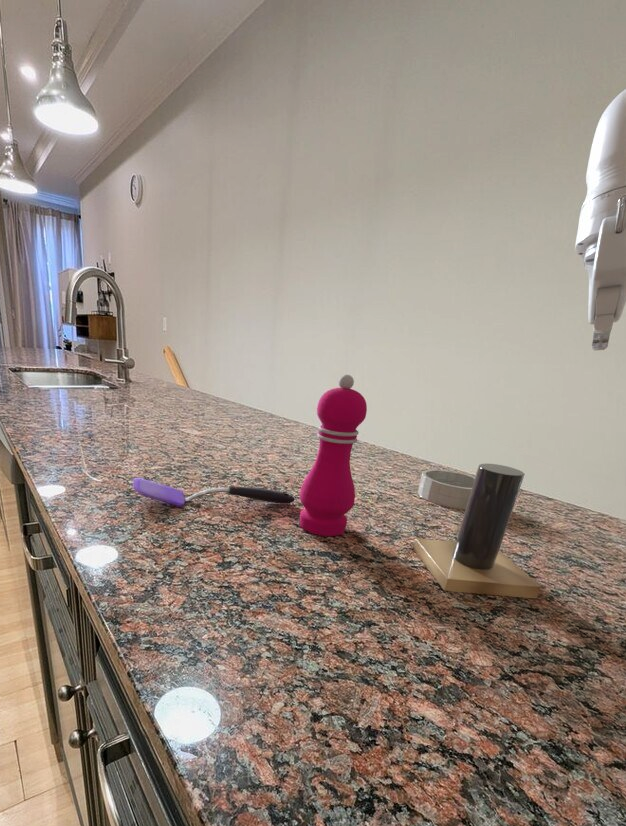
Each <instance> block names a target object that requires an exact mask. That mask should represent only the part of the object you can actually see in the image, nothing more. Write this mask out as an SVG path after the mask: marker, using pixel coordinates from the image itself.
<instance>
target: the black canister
mask: <svg viewBox="0 0 626 826" xmlns="http://www.w3.org/2000/svg"><path fill="white" fill-rule="evenodd" d="M525 476H526V475H525V472H524V471H522V470H520V469H517V468H514V467H511V466H508V465H503V464H498V463H497V464H495V463H480V464H479V465H478V467H477V470H476V473H475V476H474V477H475V480H474V483H473V486H472V490H471V493H470V496H469V500H468V503H467V507H466V509H464V514H463V517H462V519H461V520H462V521H461V524H460V527H459V531H458V534H457V537H456V540H455V542H456V544H455V547H454V551H453V554H452V555H453V558H454V559H455V560H456V561H458V562H459V563H461V564H463V565H466V566H468V567H472V568H476V569H491V568H493V567H494V564H495V561H496V558H497V555H498V552H499V550H500V549H501V546H502V542H503V540H504V537H505V534H506V531H507V528H508V526H509V523H510V520H511V517H512V513H513V510H514V508H515V505H516V502H517V499H518V496H519V492H520V490H521V486H522V484H523V481H524V478H525Z"/></svg>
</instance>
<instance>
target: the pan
mask: <svg viewBox="0 0 626 826" xmlns="http://www.w3.org/2000/svg"><path fill="white" fill-rule="evenodd" d="M474 480H475V476H474V475H470V474H467V473H463V472H458V471H454V470H453V471H452V470H446V469H426V470H424V471H422V472H421V476H420V479H419V483H418V487H417V494H418V496H419V497H421V498H422V499H424V500H425V501H428V502H430V503H433V504H436V505H438V506H442V507H447V508H452V509H458V510H466V507H467V503H468V500H469V496H470V493H471V490H472V486H473V483H474Z"/></svg>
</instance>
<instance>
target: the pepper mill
mask: <svg viewBox="0 0 626 826" xmlns="http://www.w3.org/2000/svg"><path fill="white" fill-rule="evenodd" d="M354 383H355V380H354V378H353V376H352V375H350V374H343V375H342V376H340V378H339V380H338V386H339V387H333V388H330V389H329V390H327V391H326V392H324V393H323V394H322V395H321V396H320V398H319V399H318V402H317V406H316V415H317V417H318V420H319V421H320V423H321V425H318V427H317V430H318V432H317V433H316V437H317V438H318V439H319V445H318V451H317V455H316V458H315V461H314V463H313V465H312V467H311V469H310V470H309V472H308V474H307V475H306V477H305V478H304V479H303V482H302V484H301V487H300V491H299V500H300V501H299V502H300V503H301V504H302V506H303V507H304V508H303V509H302V510H301V511H300V514H299V521H298V522H299V526H300V527H301V529H303V530H304V531H306V532H308V533H311V534H313V535H317V536H322V537H336V536H337V537H338V536H341V535H343V534H344V533H345V532H346V528H347V527H346V526H347V523H348V517H347V516H346V514H347V513H348V512H350V511H351V510H352V508H353V507H354V505H355V501H356V489H355V485H354V480H353V477H352V472H351V471H352V470H351V453H352V449H353V445H354V444H355V443H357V442H358V435H359V433H360V432H359V430H357V428H358V427H359V426H361V424H362V423H363V422H364V421H365V419H366V417H367V411H368V408H367V407H368V406H367V401H366V399H365V397H364V395H362V393H360V392H359V391H357V390H355V389H353V386H354Z"/></svg>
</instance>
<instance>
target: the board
mask: <svg viewBox="0 0 626 826" xmlns="http://www.w3.org/2000/svg"><path fill="white" fill-rule="evenodd" d="M455 544H456V541H453V540H440V539H429V538H415V539H414V544H413V547H412V549H413V551H414V552H415V554H416V555H417V556H418V558H419V559H420V560H421V562H422V563H423V564H424V566H425V567H426V568H427V570H428V571H429V572H430V573H431V575H432V576H433V578H434V579H435V581H436V582H437V583H438V584H439V586H440V587H441V589H442V590H443V591H444V592H453V593H464V594H465V593H467V594H477V595H488V596H489V595H490V596H498V597H499V596H500V597H511V598H522V599H524V598H525V599H534V600H535V599H538V597H539V595H540V591H541V589H542V586H541V585H540V584H538V582H537V581H535V579H533V578H532V577H531V576H530V575H529V574H527V573H526V571H524V570H523V569H522V568H521V567H519V566H518V564H516V563H515V562H514V561H513V560H511V559H510V558H509V557H508V556H507V555H506V554H505V553H504V552H502V551H501V550H500V549H499V552H498V555H497V558H496V561H495V564H494V567H493V568H491V569H476V568H472V567H468V566H466V565H463V564H461V563H459V562H458V561H456V560H455V559H454V558H453V555H452V554H453V551H454V547H455Z"/></svg>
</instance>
